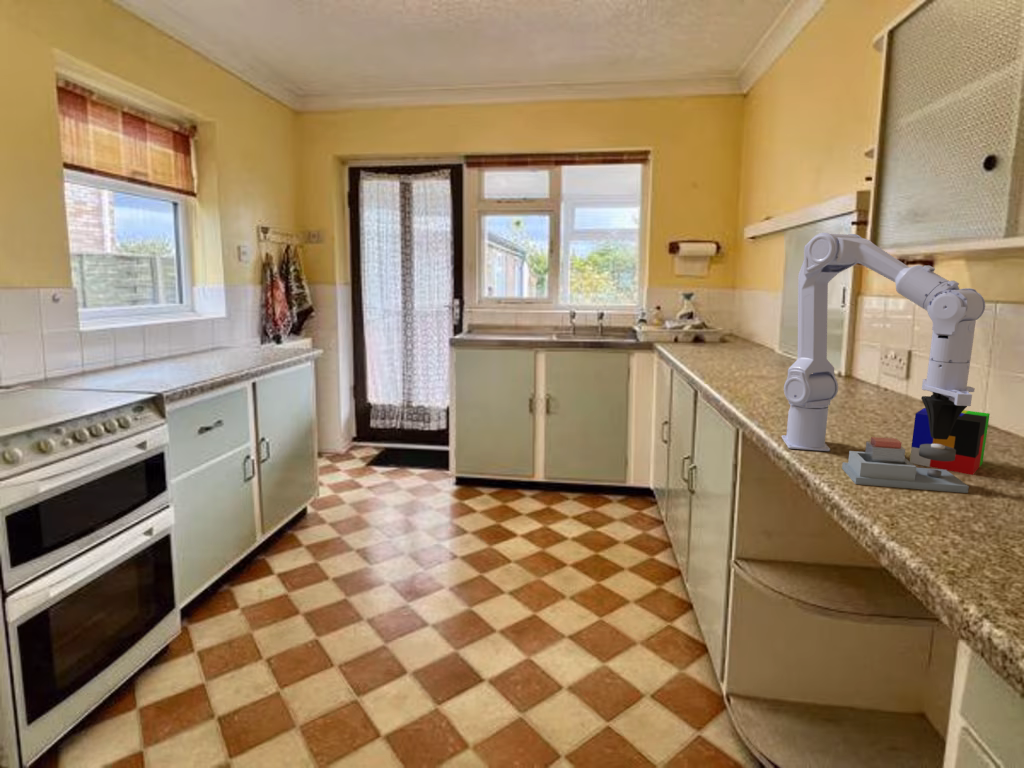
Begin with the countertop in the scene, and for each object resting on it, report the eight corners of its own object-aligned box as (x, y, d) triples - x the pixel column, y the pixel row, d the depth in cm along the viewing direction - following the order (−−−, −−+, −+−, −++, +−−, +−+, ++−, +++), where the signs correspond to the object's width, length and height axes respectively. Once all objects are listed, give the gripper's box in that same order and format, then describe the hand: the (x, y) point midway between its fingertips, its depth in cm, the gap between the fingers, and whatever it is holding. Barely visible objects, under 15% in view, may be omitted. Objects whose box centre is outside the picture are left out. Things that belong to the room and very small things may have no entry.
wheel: (914, 451, 109) (915, 440, 109) (947, 453, 108) (948, 442, 108) (925, 459, 104) (927, 448, 104) (960, 462, 103) (961, 450, 103)
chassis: (841, 468, 115) (843, 449, 114) (945, 476, 110) (947, 456, 110) (855, 484, 106) (857, 463, 105) (967, 493, 102) (970, 472, 101)
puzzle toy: (909, 463, 118) (915, 413, 116) (922, 452, 125) (928, 405, 123) (972, 475, 111) (980, 422, 109) (982, 463, 118) (989, 413, 116)
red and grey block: (863, 467, 111) (867, 435, 110) (894, 469, 110) (898, 437, 109) (870, 474, 108) (873, 441, 106) (902, 476, 106) (906, 443, 105)
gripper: (998, 368, 95) (986, 451, 98) (957, 356, 109) (947, 429, 111) (946, 366, 97) (936, 448, 99) (912, 354, 111) (904, 427, 113)
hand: (939, 438), depth 106 cm, fingers closed
